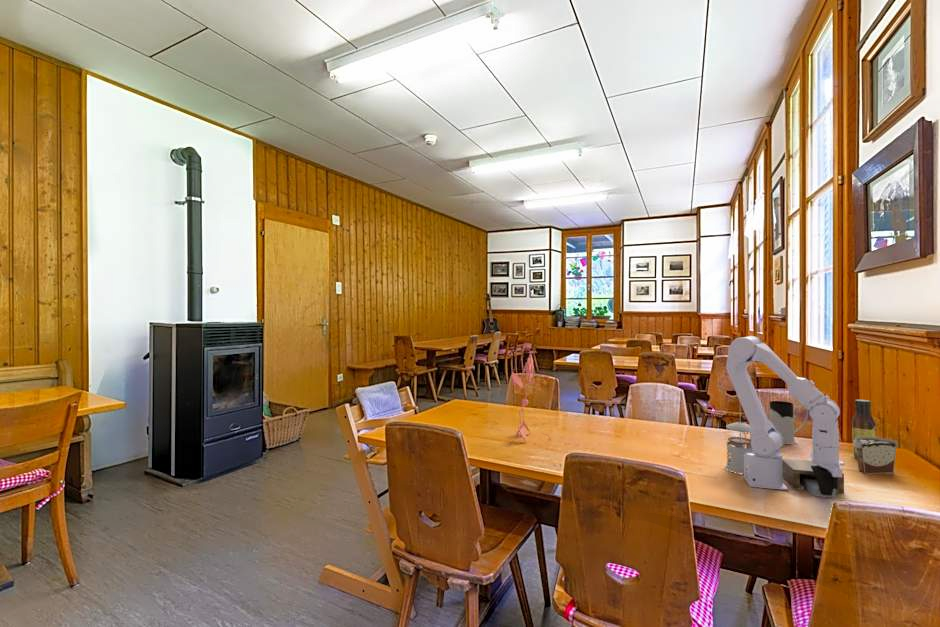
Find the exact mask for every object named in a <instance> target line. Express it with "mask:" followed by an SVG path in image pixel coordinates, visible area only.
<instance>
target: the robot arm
mask: <svg viewBox="0 0 940 627" xmlns="http://www.w3.org/2000/svg"><path fill="white" fill-rule="evenodd" d="M727 352H728V353H727V359H726V364H725V370H726V371H727V374H728V376H729V379H730V382H731V384H732V386H733V389H734V391H735V393H736V397H737V398H738V401H739V404H740V406H741V408H742V410H743V412H744V414H745V417H746V419H747V422H748V425H750V426H749V432H748V434H749V436H750V435H751V447H752V449H753V452H752V453H745V454H744V475H743V479H744V480H745V482H746V483H747V484H748V485H749V487H751V488H761V489H769V490H770V489H771V490H782V491H788V490H789V488H788V487H787V486H786V485H785V484H784V483H783V479H784V478H783V477H782V459H783V453H782V452H781V448H783V446H784V444H783V443H784V440H783V437H782V435H781V434H780V433H779V432H778V431H777V430H776V429H775V427H774V425H773V424H772V422H771V421H769V416H767V412H766V411H765V409H764V406H763V404H762V402H761V399H760V397H759V395H758V392H757V390H756V388H755V386H754V383H753V381H752V379H751V376H750V374H749V372H748V367H749V365H750V364H751V362H752V361H754V362H757V363H761V364H765V365H766V367H768V368H769V369H770V370H771V371H772V372H773V373H775V375H777V376H778V377H779V378H780V379H781V380H783V382H784V383H785V384H787V392H788V393H790V394H791V395H792V397H794V398H795V399H796V400H797V401H798V403H799V404H801V406H804V407H805V408H806V409H807V410H808V415H809V417H810V418H811V419H812V426H811V434H812V435H811V436H812V437H811V440H812V442H811V446H812V447H811V448H812V452H810V460H811V461H812V463H814V464H816V465H817V466H811V468H812V470H813V472H814V474H815V476H816V479H817V482H818V486H819V489H820V492H821V494H822V495H829V496H831V495H832V493H833V489H834V486H835V484H836V481H837V480H838V478H839V477H841V478H842V473H843V469H842V468H841V467H842V466H843V467H844V466H845V462H843V461H841V460H840V430H839V420H838V418H839V416H840V414H841V409H840V407H839V405H838V404H837V402H836V401H834V400H832V399H830V397H829V396H828V395H824V393H823V392H821V391H820V390H819V389H818V388H817V387H816V386H815V384H816V383H815V382H814V381H813V380H812V379H811V380H808V378H806V377H799V376H797V374H795V372H794V371H793V370H791V369H790V367H789V366H788V365H787V364H786V363H785V362H784V361H783V360H782V359H781V358H780V357H779V356H778V355H777V354H776V353H775V352H774V351H773V350H772V348H770V346H768V345H767V344H766V343H765V342H762V340H761V339H760V338H759V337H757V336H754V335H746V336H743V337H737V338H735V339H734V340H732V342H731V343H730V345H729V346H728V347H727ZM805 408H804V409H805ZM806 409H805V410H806Z"/></svg>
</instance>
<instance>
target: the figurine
mask: <svg viewBox="0 0 940 627" xmlns="http://www.w3.org/2000/svg"><path fill="white" fill-rule="evenodd" d="M524 364H525V365H524V367H523V370H522V373H521V375H520V376H519V375H518V374H517V373H515V372H514V371H511V378H512V384H513V388H515V387H516V386H518V387H520V388H521V389H523V387H524V388H525V398H523V399H522V401H521V404H522V405H521V408H520V409H519V410H518V414H519V425H518V426H517V429H518V430H517V432H516V433H515V436H514V437H516V438H517V437H518V435H519V434H520V435H521V437H522V439H523V440H524V441H525V440H526V439H527V440H528V438H527V435H526V432H525V431H524V429H523V427H524V428H525V429H526V430H527V432H528V431H529V432H530V433H531V431H530V429H529V427H528V426H527V424H526V422H525V415H524V408H525V407H526V406H528V404H529V400H528V399H527V396H528V388H527V386H526V385H525V384H524V383H523V381H522V379H523V376H524V374H525V373H526V376H525V377H526V379H527V382H528V385H530V384H531V379H533V374H534V375H536V372H535V370H534V369H535V366H534V359H533V356H532V353H529V355H528V357H527V362H525V363H524ZM521 412H522V417H523V420H522V421H521V418H522V417H521ZM519 432H520V433H519ZM529 432H528V433H529ZM518 433H519V434H518Z"/></svg>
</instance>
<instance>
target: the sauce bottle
mask: <svg viewBox="0 0 940 627" xmlns="http://www.w3.org/2000/svg"><path fill="white" fill-rule="evenodd" d="M854 404H855V414H854V416H853V417H852V419H851V423H852V424H851V425H852V426H851V432H852V433H851V436H852V452H853V456H854V458H856V459H857V451H856V447H855V446H854V445H853V443H854V440H855V438H857V437H877V424H876V421H875V420H874V418H873V416H872V414H871V400H868V399H867V400H866V399H855V400H854Z"/></svg>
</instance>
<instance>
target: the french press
mask: <svg viewBox="0 0 940 627" xmlns="http://www.w3.org/2000/svg"><path fill="white" fill-rule="evenodd" d="M741 413H742V412H741V408H739V421H737V422H732V423H729V424H726V426H725V427H726V429H728V430H730V431H733V432H737V433H738V432H739V436H730V437H728V438H727V441H728V442H726V464H725V465H726V466H725V465H724V466H725V468H726V469H728V470H730V471H733V472H736V473H742V474H744V454H745V453H752V452H753V449H752V447H751V435H750V434H749V426H750V425H749V423H746V422H742V421H741V418H742V415H741ZM748 434H749V437H750V438H748V437H747V435H748ZM742 435H744V437H742ZM745 447H746V448H745Z"/></svg>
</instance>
